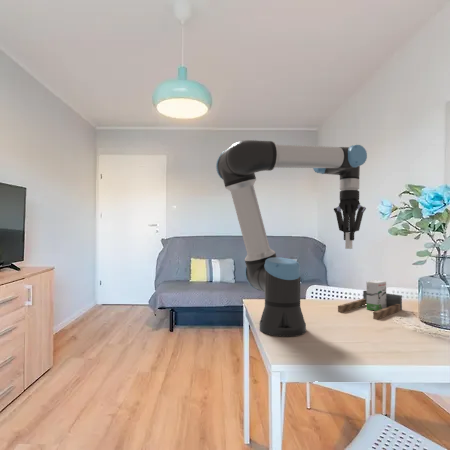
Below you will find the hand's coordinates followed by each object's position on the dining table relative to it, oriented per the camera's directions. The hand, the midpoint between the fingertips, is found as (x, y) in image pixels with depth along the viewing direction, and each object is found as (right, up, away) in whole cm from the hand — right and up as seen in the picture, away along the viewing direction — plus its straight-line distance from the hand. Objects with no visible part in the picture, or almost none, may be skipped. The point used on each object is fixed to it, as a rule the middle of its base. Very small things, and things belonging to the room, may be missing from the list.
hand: (348, 248), depth 136 cm
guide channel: (+9, -26, +2) cm, 28 cm away
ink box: (+14, -26, +6) cm, 30 cm away
